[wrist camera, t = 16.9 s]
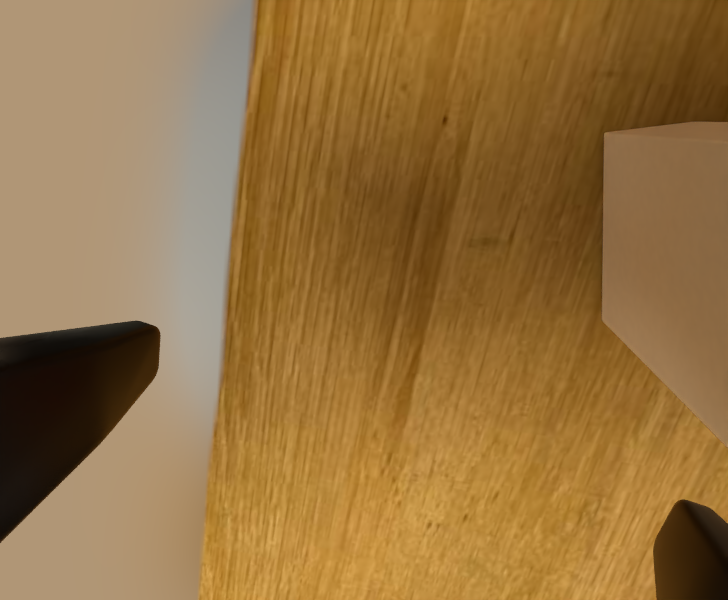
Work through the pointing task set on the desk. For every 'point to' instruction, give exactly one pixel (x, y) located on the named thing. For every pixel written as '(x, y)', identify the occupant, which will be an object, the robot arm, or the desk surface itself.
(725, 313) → the beige rectangular block
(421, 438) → the desk surface
